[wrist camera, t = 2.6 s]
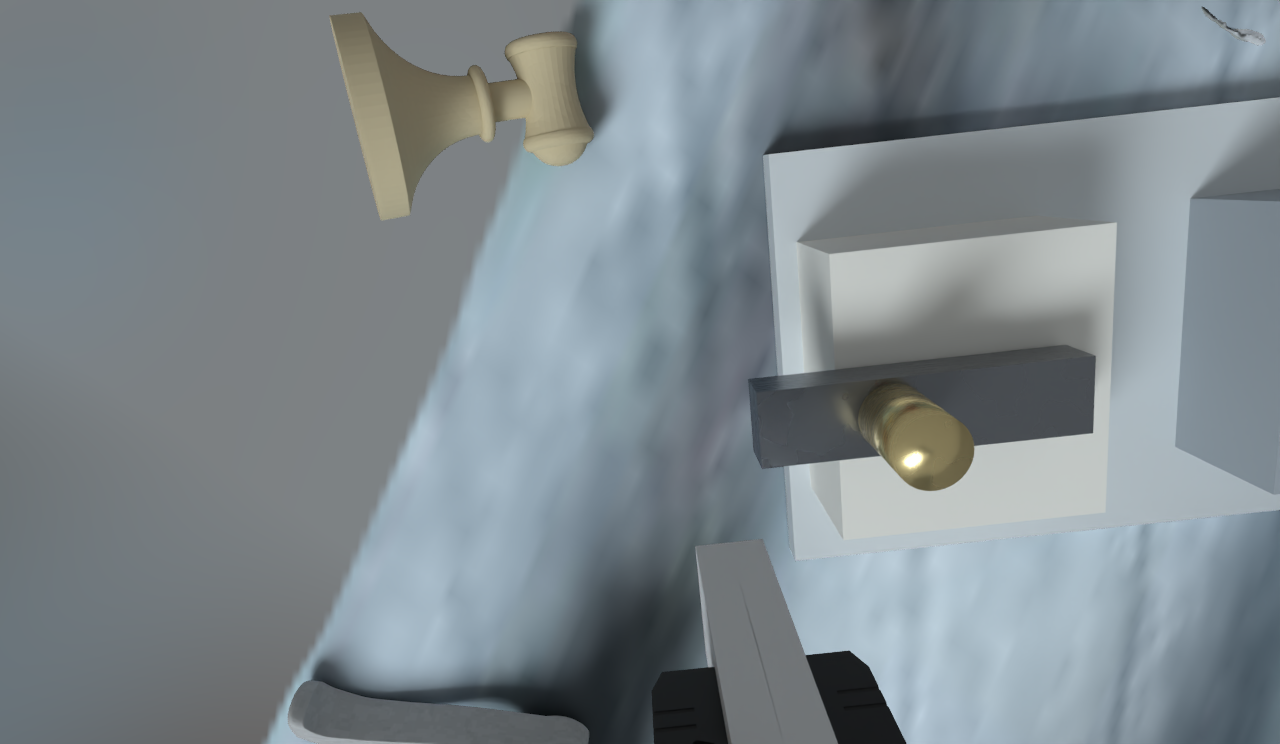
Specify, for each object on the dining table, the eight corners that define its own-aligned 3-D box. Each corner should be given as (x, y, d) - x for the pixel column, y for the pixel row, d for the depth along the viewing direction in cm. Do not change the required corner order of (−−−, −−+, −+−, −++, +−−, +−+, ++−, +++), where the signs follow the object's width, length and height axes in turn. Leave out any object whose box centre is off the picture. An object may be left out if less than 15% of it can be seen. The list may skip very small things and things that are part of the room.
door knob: (591, -36, 30) (628, 175, 32) (546, 16, 37) (579, 185, 39) (324, -11, 27) (382, 219, 29) (334, 41, 34) (379, 221, 36)
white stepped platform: (1361, 486, 40) (1662, 611, 29) (789, 547, 41) (854, 695, 29) (1412, 82, 36) (1796, 35, 24) (762, 155, 36) (828, 143, 24)
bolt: (1064, 417, 31) (1164, 472, 25) (753, 450, 31) (782, 512, 25) (1065, 344, 30) (1169, 383, 25) (748, 379, 31) (776, 425, 25)
